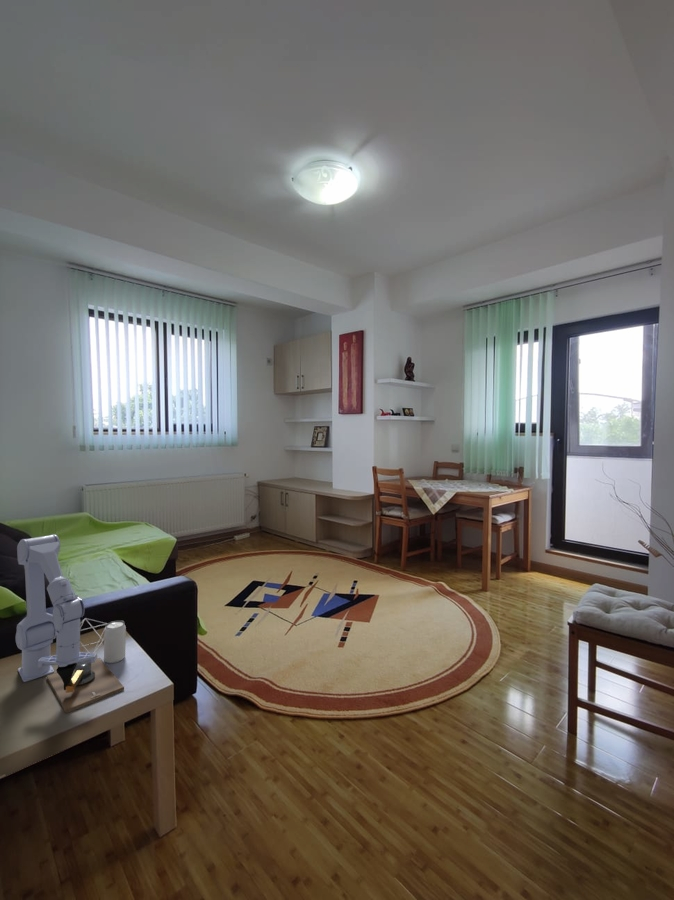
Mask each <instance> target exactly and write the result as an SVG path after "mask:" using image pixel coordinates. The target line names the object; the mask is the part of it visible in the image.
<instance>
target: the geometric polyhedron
mask: <svg viewBox="0 0 674 900" xmlns="http://www.w3.org/2000/svg"><path fill="white" fill-rule="evenodd" d="M85 621H86V622H87V624H89V625H90V627H87V628H83V629H82V626H83V624H84V622H85ZM89 621H94V622H97V623H102V624H99V625H96V626H93V625H92V624H91V623H90V622H89ZM107 624H108V623H107V622H103V621H99V620H95V619H91V618H87V617H85V618H84V619H82V620H81V621H80V632H82V631H85V630H88V629H93V631H94V632H95V633H96V634H97V635H98V638H99V639H98V641H95V642H91V643H88V644H83V643H82V642H81V641H80V648H81V647H83V649H85V651H86V653H90V651H88V649H87V648H86V647H85V646H89V644H90V645H93V644H96V646H95V647H94V649H93V651H92V653H96V651H97V650H98V648H100V647H101V645H102V643H104V637H103V636H104V635H103V634H104V631H105V628H106V625H107ZM100 626H101V627H102V626H105V627H104V629H103V631H102V633H101V635H100V634H99V632H97V630H96V629H95V628H97V627H100ZM102 637H103V638H102ZM100 641H101V642H100ZM99 643H100V644H99Z"/></svg>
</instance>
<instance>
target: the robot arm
mask: <svg viewBox="0 0 674 900" xmlns="http://www.w3.org/2000/svg"><path fill="white" fill-rule="evenodd" d="M16 546H17V547H16V551H17V553H16V554H17V562H18V565H22V566H23V568H24V577H25V596H26V597H25V598H26V599H25V600H26V617H24V618H23V619H22V620H21V621H20V622H19V623H18V624H16V633H15V643H16V646H17V649H19V650H21V667H19V668H17V671H18V674H19V675H20V678H21V680H22V681H23V683H26V682H29V681H32V680H36V679H38V678H41V677H44V676H47V675H50V674H53V673H55V672H57V673H58V674H59V676H60V677H61V679H62V680H63V683H64V690H66V686H67V684H68V683H69V682H70V680H71V677H72V674H73V672H74V669H75V667H76V665H77V663H85V662H91V663H95V661H96V660H97V659H98V655H97V654H98V653H97V652H95V653H93V652H89V653H88V652H84V651H81V649H80V648H81V647H80V646H81V643H80V642H81V631H80V630H81V628H80V627H81V624H80V623H81V618H83V616H85V604H84V601H83V599H82V598H80V597H79V595H78V594H75V591H74V589H73V586H72V585H71V584H72V583H71V581H70V580H69V578H67V577H64V576H63V571H62V568H61V565H60V561H59V557H58V556H59V554H60V549H61V540H60V538H59V536H58V535H57V534H54V533H52V534H50V535H42V536H37V537H36V536H35V537H31V538H22V539H20V541H19V542H18V544H17V545H16ZM45 577H46V579H47V581H48V583H49V584H48V585H47V586H46V587H45ZM45 590H47V592H48V597H49V599H50V602H51V605H52V606H53V610H52V613H49V612H47V609H46V608H47V606H46V604H47V603H46V591H45ZM55 639H56V642H55V645H56V646H55V647H56V648H55V650H56V651H55V654H54V655H53V654H51V644H53V643H54V640H55ZM53 666H57V669H56V671H55V670H54V667H53Z"/></svg>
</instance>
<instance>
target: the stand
mask: <svg viewBox="0 0 674 900" xmlns="http://www.w3.org/2000/svg"><path fill="white" fill-rule="evenodd" d="M91 671H93V672H95V678H94V679H93V680H92V681H90V682H89V683H86V684H83V685H79V686H76V687H75V688H74V691H73V692H69V693H66V690H64V683H63V680H62V679H61V677H60V676H59V674H58V673H57V671H55V672H53V673H51V674H48V675H46V680H47V681H48V684H49V686H50V687H51V689H52V690H53V692H54V693H53V694H55V696H56V698H57V699H58V702H59V703H60V705H61V707H62V709H63V710H64V712H65V713H66V714H68V713H71V712H73V711H75V710H77V709H80V708H82V707H86V706H87V705H90V704H93V703H95V702H97V701H100V700H103V699H106V698H107V697H110V696H112V695H115V694H118V693H121V692H123V691H124V690H125V686H124V685H123V684H122V682H121V681H120V680H119V679H118V678H117V676H116V675H115V674H114V673H113V671H112V670H111V669H110V668H109V667H108V665H106V662H105V661H104V660H103V659H102V658H100V657H97V660H96V661H95V663H91ZM73 674H75V669H74V672H73ZM73 674H72V675H73ZM122 690H123V691H122ZM117 692H118V693H117Z"/></svg>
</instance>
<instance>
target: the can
mask: <svg viewBox="0 0 674 900" xmlns="http://www.w3.org/2000/svg"><path fill="white" fill-rule="evenodd" d="M105 627H106V628H105ZM105 627H104V629H105V630H103V631H104V632H103V634H104V635H103V638H104V641H103V662H104V663H105V664H106V663H107V664H116V663H119V662H121V661H123V660H124V658H126V643H127V642H126V641H127V640H126V638H127V635H126V634H127V629H126V628H127V627H126V625H125V621H124V620H114V621H110V622H108V623H107V624H106V625H105Z"/></svg>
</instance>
